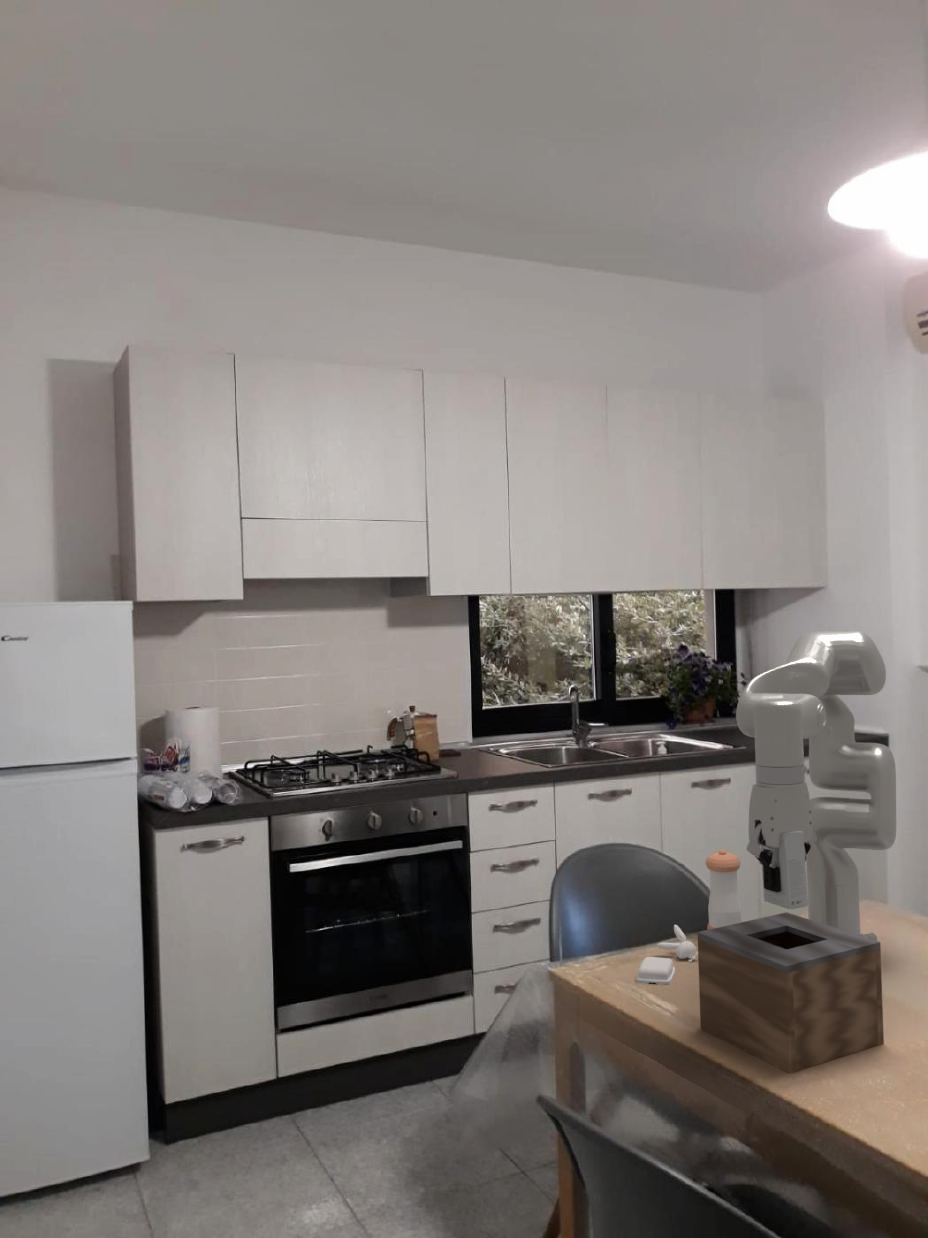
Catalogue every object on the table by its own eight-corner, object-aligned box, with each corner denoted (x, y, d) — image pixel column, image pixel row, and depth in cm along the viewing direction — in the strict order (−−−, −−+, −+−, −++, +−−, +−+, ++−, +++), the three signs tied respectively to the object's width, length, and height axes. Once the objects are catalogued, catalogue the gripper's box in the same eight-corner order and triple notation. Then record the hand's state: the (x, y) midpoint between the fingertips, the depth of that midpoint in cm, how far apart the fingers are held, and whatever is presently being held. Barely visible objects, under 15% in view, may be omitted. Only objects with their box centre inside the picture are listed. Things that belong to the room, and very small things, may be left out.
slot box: (789, 1003, 184) (786, 912, 183) (883, 1043, 166) (880, 942, 166) (700, 1028, 174) (697, 932, 174) (790, 1073, 157) (786, 966, 156)
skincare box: (809, 906, 168) (806, 830, 168) (787, 910, 166) (785, 834, 166) (781, 897, 174) (779, 824, 174) (760, 901, 172) (758, 827, 172)
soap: (642, 968, 205) (641, 954, 205) (677, 971, 203) (676, 956, 203) (634, 984, 197) (633, 969, 197) (671, 987, 195) (670, 971, 195)
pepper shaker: (719, 934, 224) (716, 844, 223) (750, 941, 218) (747, 849, 218) (701, 942, 218) (697, 850, 218) (731, 950, 213) (728, 855, 213)
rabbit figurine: (684, 966, 205) (654, 940, 210) (686, 975, 208) (656, 950, 213) (705, 945, 207) (674, 920, 212) (706, 955, 210) (676, 930, 215)
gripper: (801, 767, 177) (805, 875, 177) (724, 778, 169) (728, 891, 169) (835, 772, 170) (839, 885, 171) (757, 784, 163) (761, 902, 163)
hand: (784, 887), depth 170 cm, fingers closed on skincare box, 4 cm apart
